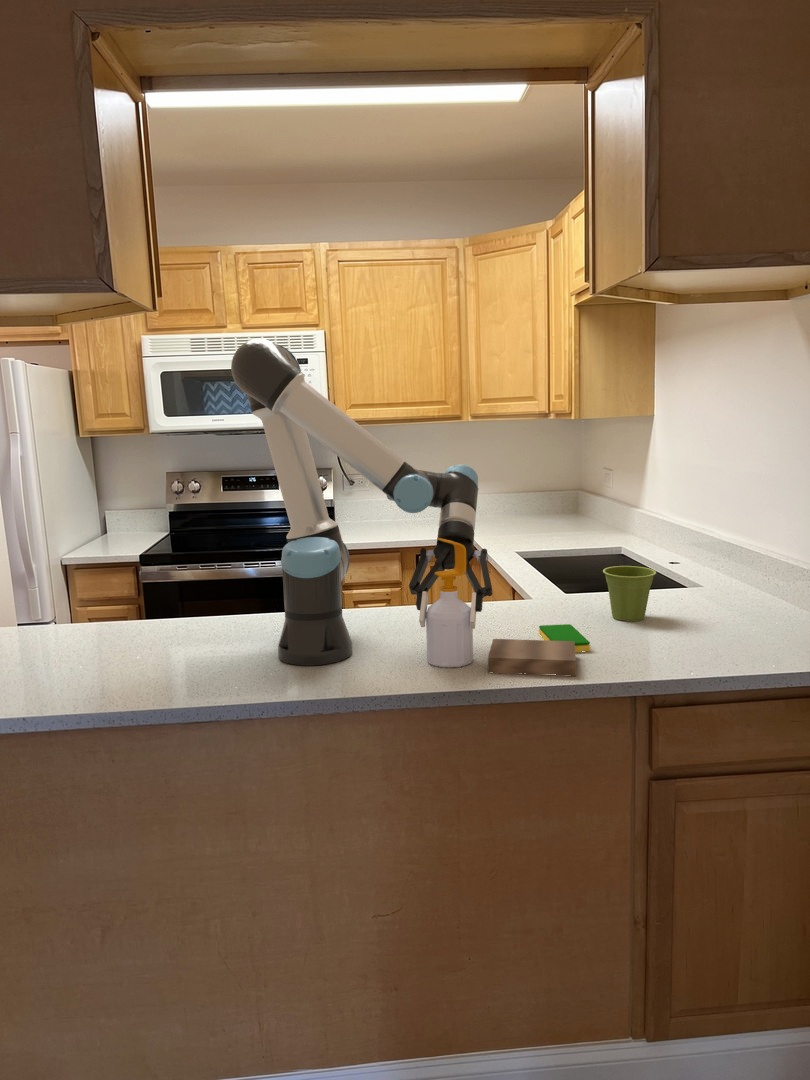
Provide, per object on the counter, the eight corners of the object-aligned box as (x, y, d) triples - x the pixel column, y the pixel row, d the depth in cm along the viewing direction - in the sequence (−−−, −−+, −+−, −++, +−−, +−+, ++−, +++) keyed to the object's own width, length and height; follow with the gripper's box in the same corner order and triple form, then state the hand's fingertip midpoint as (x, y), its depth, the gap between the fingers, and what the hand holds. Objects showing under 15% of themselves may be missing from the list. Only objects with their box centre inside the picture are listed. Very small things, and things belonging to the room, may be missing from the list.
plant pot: (591, 617, 175) (592, 570, 174) (622, 609, 183) (623, 563, 181) (634, 628, 166) (635, 578, 164) (665, 618, 173) (666, 570, 171)
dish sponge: (555, 655, 150) (555, 643, 150) (538, 635, 164) (538, 625, 163) (590, 653, 150) (590, 642, 150) (570, 634, 164) (570, 623, 164)
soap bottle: (419, 658, 149) (416, 536, 145) (460, 651, 153) (458, 532, 149) (439, 671, 141) (436, 543, 137) (481, 664, 145) (480, 539, 141)
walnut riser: (488, 672, 139) (487, 657, 139) (493, 653, 151) (493, 638, 151) (575, 676, 136) (575, 660, 136) (574, 655, 148) (574, 641, 147)
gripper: (509, 540, 156) (505, 635, 143) (408, 540, 160) (394, 632, 148) (508, 518, 150) (503, 616, 137) (402, 518, 154) (388, 613, 142)
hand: (447, 624), depth 142 cm, fingers closed on soap bottle, 9 cm apart
